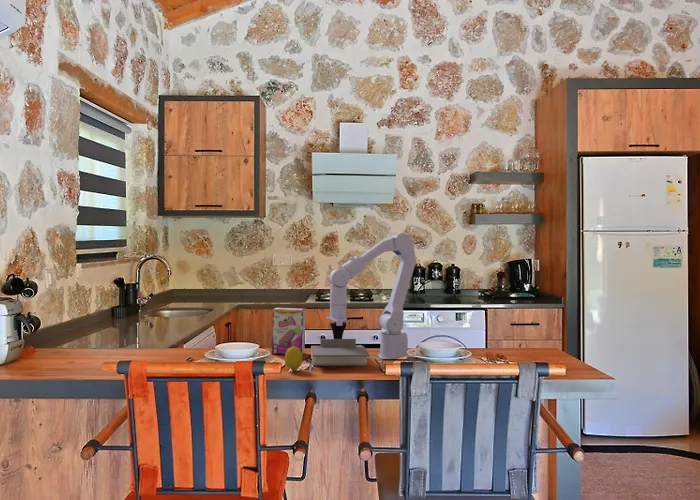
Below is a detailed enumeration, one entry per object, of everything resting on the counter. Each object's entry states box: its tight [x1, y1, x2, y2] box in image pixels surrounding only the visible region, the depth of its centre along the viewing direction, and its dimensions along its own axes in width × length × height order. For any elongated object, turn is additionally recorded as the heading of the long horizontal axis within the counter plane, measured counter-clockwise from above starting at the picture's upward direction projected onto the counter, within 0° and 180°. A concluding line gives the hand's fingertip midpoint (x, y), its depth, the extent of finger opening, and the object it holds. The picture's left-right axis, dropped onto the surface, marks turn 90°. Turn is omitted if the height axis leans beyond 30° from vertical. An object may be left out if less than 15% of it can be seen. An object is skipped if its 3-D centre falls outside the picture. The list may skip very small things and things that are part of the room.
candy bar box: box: [271, 307, 306, 356], centre depth 203 cm, size 11×5×16 cm, turn 84°
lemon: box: [284, 346, 303, 372], centre depth 177 cm, size 6×6×8 cm
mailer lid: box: [312, 338, 370, 357], centre depth 186 cm, size 18×14×3 cm
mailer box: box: [310, 345, 368, 367], centre depth 192 cm, size 18×14×4 cm
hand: (337, 343), depth 194 cm, fingers closed
